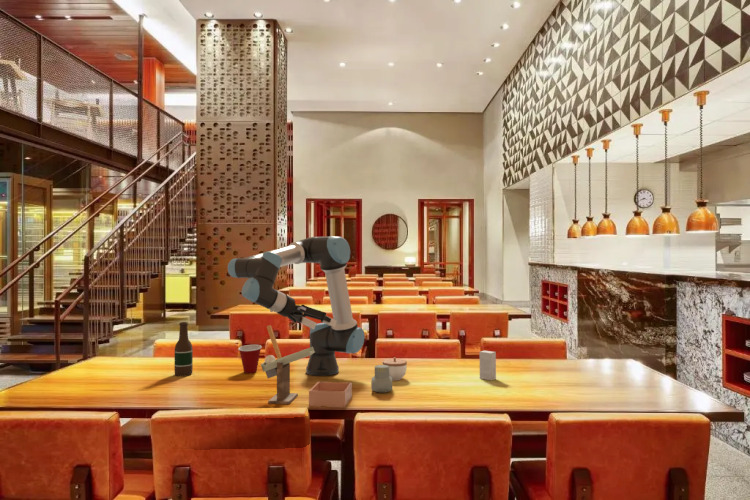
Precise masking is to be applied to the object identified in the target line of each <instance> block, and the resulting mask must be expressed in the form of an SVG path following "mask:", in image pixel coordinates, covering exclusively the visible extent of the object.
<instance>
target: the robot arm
mask: <svg viewBox="0 0 750 500" xmlns="http://www.w3.org/2000/svg"><path fill="white" fill-rule="evenodd" d="M350 258H351V249H350V244H349V242H348V241H347V239H345V238H344V237H342V236H337V235H336V236H334V235H329V236H312V237H311V236H310V237H306V238H304V239H300V240H296V241H293V242H291V243H290V244H289V245H287V246H284V247H281V248H276V249H272V250H269V251H265V252H262V253H257V254H254V255H250V256H247V257H246V256H245V257H241V258H240V257H237V258H232V259H231V260H229V261H228V264H227V272H228V275H230V277H232V278H237V279H246V281H245V282H244V284H243V286H242V289H241V296H242V297H243V298H245V299H246V300H248V301H249V302H252V303H254V304H256V305H259V306H261V307H263V308H265V309H267V310H269V311H270V312H271V313H273V312H274V313H276V314H278V315H280V316H282V317H285V318H288V319H289V320H291V321H292V322H293V323H295V324H296V323H297V324H301V325H304V326H305V327H307V328H309V348H311V347H313V348H314V351H315V353H313V354H312V355H310V356H309V359H308V360H307V361H308V362H307V365H306V368H305V373H306V374H307V375H310V376H315V377H325V376H326V377H327V376H328V377H329V376H333V375H336V374H338V373H339V372H340V371H339V370H340V369H339V368H340V367H339V365H338V361H337V358H336V352H338V353H345V354H357V353H359V352H360V351H361V349H362V347H363V345H364V343H365V337H366V336H365V331H364V329H363V328H361V327H358V326H359V325H358V321H357V320H356V319H354V318H353V312H352V305H351V300H350V294H349V288H348V282H347V277H346V271H345V268H347V266H348V262H349V260H350ZM305 263H306V264H309V263H310V264H319V266H320V270H321V271H323V272H324V275H325V281H326V285H327V286H326V287H327V291H328V296H329V301H330V302H329V303H330V308H331V313H332V317H333V318H332V317H330V316H329V315H327V312H326V311H325V312H324V311H322V310H318V309H316V308H312V307H309V306H307V305H305V304H301V305H299V304H296V300H295V299H294V297H292V296H289V295H287V294H286V293H284V292H282V291H279V290H277V289H275V288H274V285H275V282H276V279H277V276H278V273H279V272H280V269H281V268H282V267H285V266H289V265H291V264H294V265H300V264H305ZM310 318H311V319H310ZM312 319H314V320H318V321H320V323H317V322H315V321H313V320H312Z"/></svg>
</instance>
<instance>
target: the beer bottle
mask: <svg viewBox="0 0 750 500" xmlns="http://www.w3.org/2000/svg"><path fill="white" fill-rule="evenodd" d="M188 325H189V323H188V321H181V322H179V325H178V326H179V335H178V337H179V338H178V341H177V342H176V344H175V346H174V376H176V377H187V376H191V375H192V374H193V361H194V360H193V357H194V356H193V350H194V349H193V345H192V342H191V340H190V339H189V329H188Z"/></svg>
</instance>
